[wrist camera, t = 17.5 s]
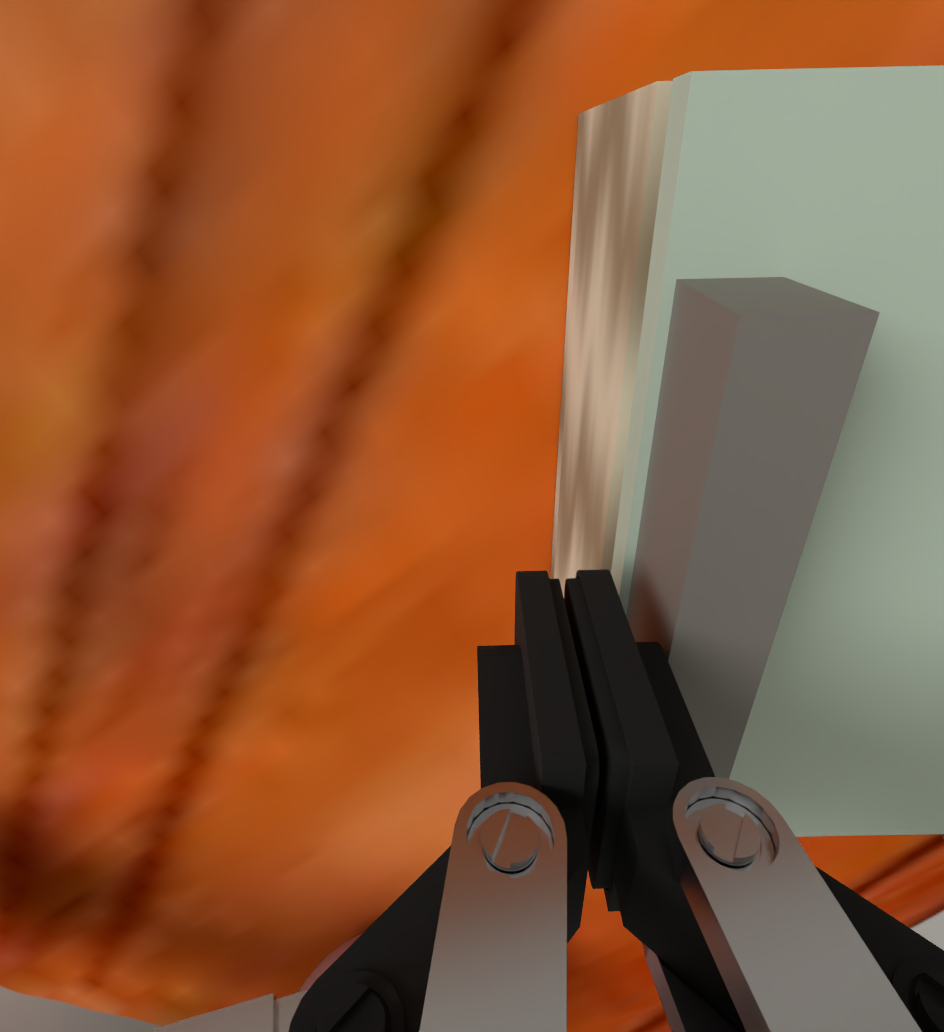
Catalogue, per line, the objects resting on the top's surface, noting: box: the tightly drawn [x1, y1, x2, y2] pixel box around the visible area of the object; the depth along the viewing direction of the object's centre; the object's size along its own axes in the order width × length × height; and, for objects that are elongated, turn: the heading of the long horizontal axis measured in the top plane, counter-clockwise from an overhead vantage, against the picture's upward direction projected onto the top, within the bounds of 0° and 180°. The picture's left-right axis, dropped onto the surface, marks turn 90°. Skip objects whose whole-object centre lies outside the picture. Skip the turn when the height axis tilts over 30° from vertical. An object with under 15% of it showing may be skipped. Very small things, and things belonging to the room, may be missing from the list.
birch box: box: [550, 81, 673, 597], centre depth 16 cm, size 17×13×7 cm
